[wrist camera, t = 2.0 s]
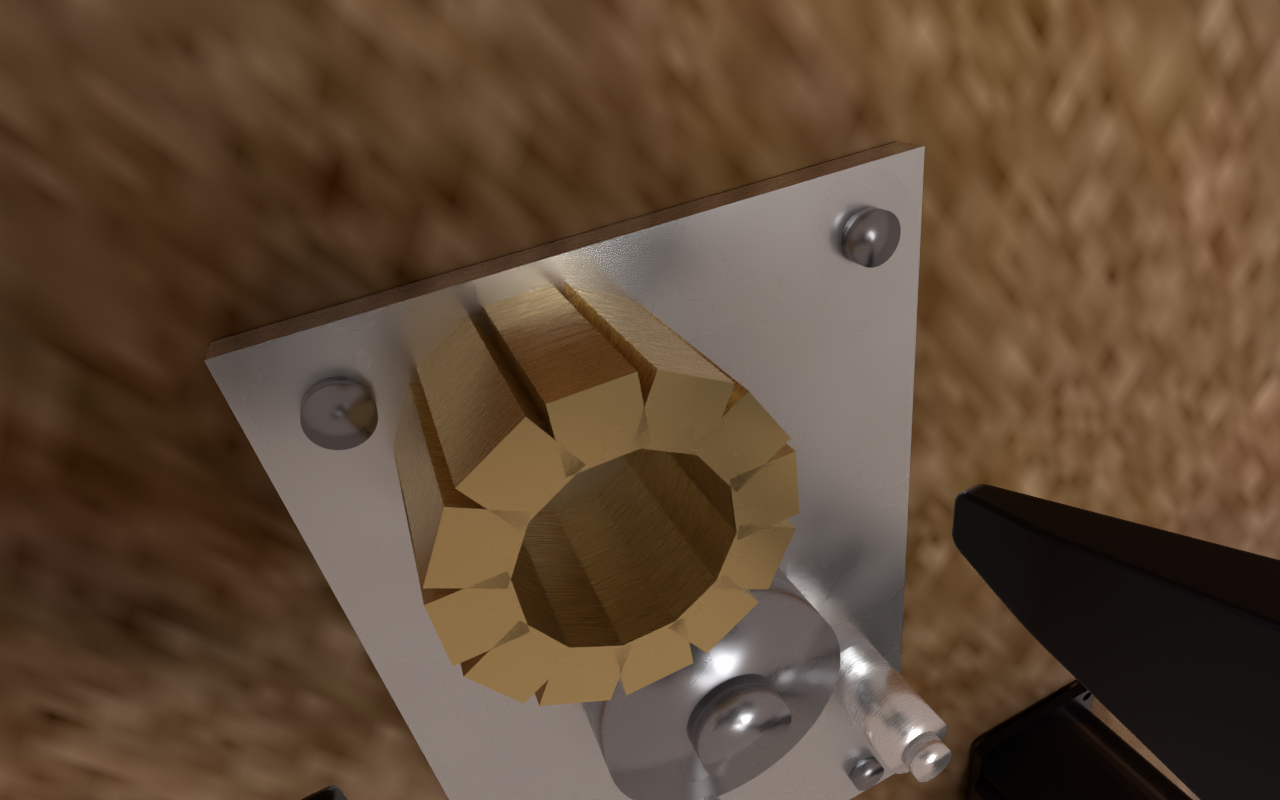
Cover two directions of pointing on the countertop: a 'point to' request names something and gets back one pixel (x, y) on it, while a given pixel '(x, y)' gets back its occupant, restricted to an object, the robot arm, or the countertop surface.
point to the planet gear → (597, 525)
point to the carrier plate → (727, 335)
